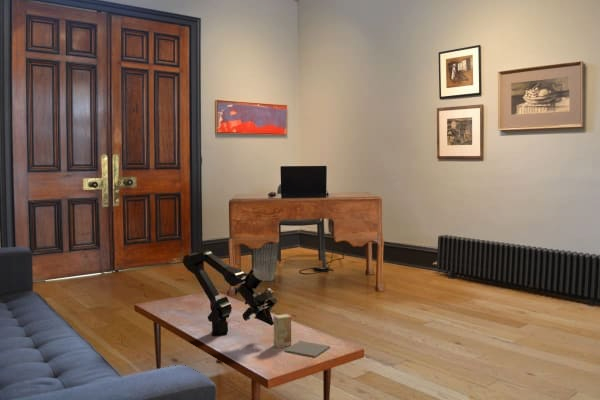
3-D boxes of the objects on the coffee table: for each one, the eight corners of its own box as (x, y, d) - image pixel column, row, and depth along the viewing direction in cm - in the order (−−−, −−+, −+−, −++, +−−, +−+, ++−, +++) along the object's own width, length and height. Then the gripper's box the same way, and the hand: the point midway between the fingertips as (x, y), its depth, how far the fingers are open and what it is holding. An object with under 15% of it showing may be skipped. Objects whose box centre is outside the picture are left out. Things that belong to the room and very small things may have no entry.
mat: (284, 351, 216) (284, 350, 216) (300, 342, 226) (300, 340, 226) (315, 357, 208) (315, 355, 208) (330, 347, 219) (330, 346, 219)
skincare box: (278, 348, 219) (277, 318, 219) (273, 345, 223) (272, 315, 222) (292, 345, 222) (291, 315, 221) (287, 342, 226) (286, 313, 225)
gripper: (247, 288, 218) (271, 318, 214) (273, 278, 234) (296, 307, 229) (232, 305, 223) (255, 335, 218) (258, 295, 239) (280, 323, 234)
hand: (272, 324), depth 225 cm, fingers closed
